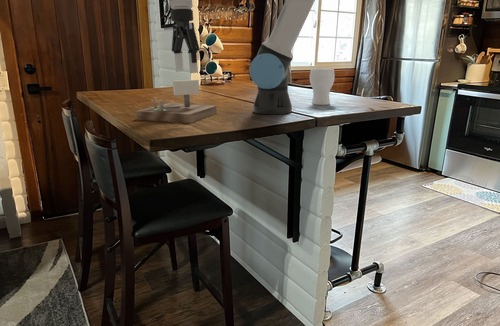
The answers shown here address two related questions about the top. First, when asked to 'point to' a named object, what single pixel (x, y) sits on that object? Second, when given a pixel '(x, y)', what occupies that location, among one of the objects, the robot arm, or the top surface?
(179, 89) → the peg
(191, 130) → the top surface
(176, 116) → the board
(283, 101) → the robot arm
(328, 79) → the cup
